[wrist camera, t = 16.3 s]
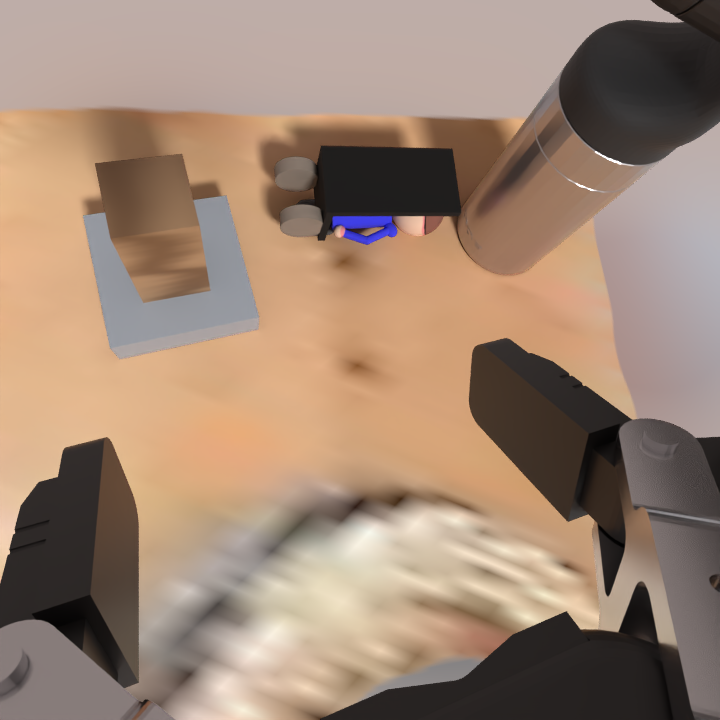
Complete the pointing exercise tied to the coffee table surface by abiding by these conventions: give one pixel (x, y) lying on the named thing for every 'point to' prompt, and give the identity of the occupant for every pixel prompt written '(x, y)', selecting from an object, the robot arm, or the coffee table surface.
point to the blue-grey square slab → (179, 314)
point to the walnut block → (154, 225)
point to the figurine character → (369, 191)
